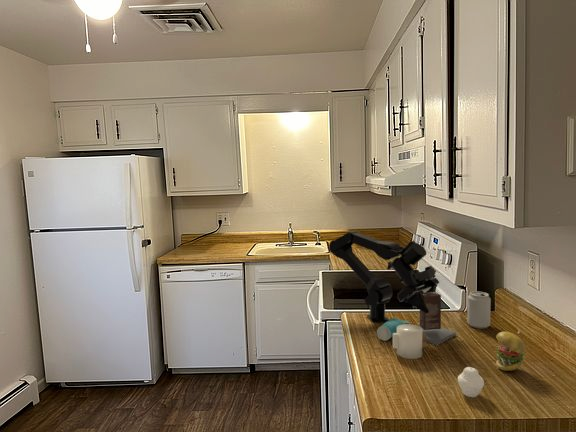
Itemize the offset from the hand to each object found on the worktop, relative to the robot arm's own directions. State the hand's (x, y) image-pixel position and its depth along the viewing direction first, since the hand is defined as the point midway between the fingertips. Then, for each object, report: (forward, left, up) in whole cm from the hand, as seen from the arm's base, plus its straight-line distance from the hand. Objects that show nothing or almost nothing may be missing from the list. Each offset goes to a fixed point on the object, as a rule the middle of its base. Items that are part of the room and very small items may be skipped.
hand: (433, 310), depth 140 cm
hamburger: (+26, +9, -9) cm, 29 cm away
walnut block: (+6, -9, -9) cm, 14 cm away
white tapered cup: (+11, -14, -9) cm, 20 cm away
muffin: (+36, -9, -9) cm, 38 cm away
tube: (+1, -18, -6) cm, 19 cm away
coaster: (-1, -1, -9) cm, 9 cm away
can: (-6, +20, -9) cm, 23 cm away
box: (-1, -1, -7) cm, 7 cm away
